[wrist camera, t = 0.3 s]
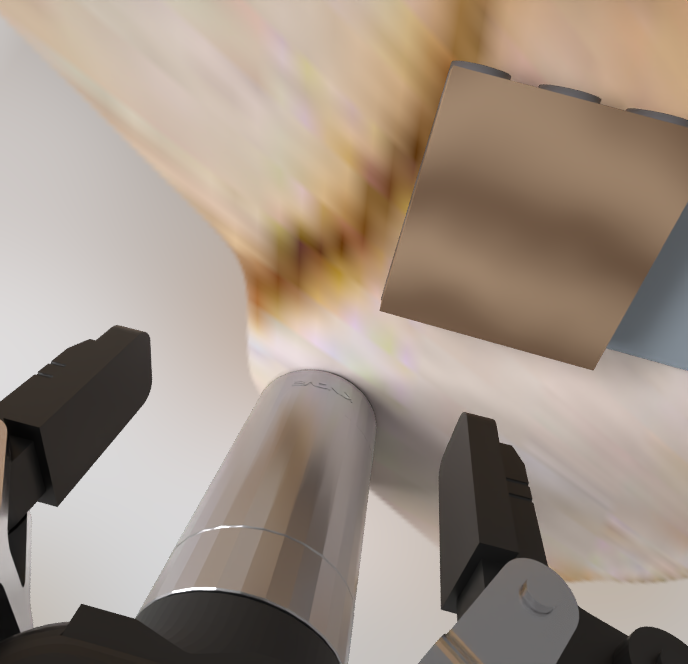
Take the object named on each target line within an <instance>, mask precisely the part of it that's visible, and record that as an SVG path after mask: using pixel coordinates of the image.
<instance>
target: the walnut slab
mask: <svg viewBox="0 0 688 664" xmlns="http://www.w3.org/2000/svg"><path fill="white" fill-rule="evenodd" d="M510 78H511V75H509V74H507V73H505V72H503V71H500V70H497V69H494V68H491V67H488V66H484V65H480V64H475V63H470V62H465V61H452V62H451V66H450V69H449V72H448V76H447V79H446V82H445V86H444V89H443V92H442V96H441V99H440V103H439V106H438V109H437V113H436V116H435V119H434V123H433V126H432V129H431V133H430V136H429V139H428V143H427V146H426V150H425V153H424V156H423V160H422V163H421V166H420V170H419V173H418V176H417V180H416V183H415V186H414V190H413V193H412V196H411V200H410V203H409V207H408V210H407V213H406V217H405V220H404V223H403V227H402V230H401V233H400V237H399V240H398V243H397V247H396V250H395V254H394V257H393V260H392V264H391V267H390V270H389V274H388V277H387V280H386V284H385V287H384V290H383V294H382V297H381V307H380V311H382V312H386V313H389V314H393V315H396V316H400V317H404V318H407V319H411V320H414V321H418V322H421V323H425V324H429V325H432V326H436V327H439V328H443V329H446V330H450V331H454V332H457V333H461V334H464V335H468V336H472V337H475V338H479V339H482V340H486V341H489V342H493V343H497V344H500V345H504V346H507V347H511V348H514V349H518V350H522V351H525V352H529V353H532V354H536V355H540V356H543V357H547V358H550V359H554V360H557V361H561V362H565V363H568V364H572V365H575V366H579V367H583V368H586V369H590V370H594V368H595V367H596V365H597V363H598V361H599V360H600V358H601V356H602V354H603V352H604V351H605V349H606V347H607V345H608V343H609V342H610V340H611V338H612V336H613V334H614V333H615V331H616V329H617V327H618V326H619V324H620V322H621V320H622V318H623V317H624V315H625V313H626V311H627V309H628V308H629V306H630V304H631V302H632V301H633V299H634V297H635V295H636V293H637V292H638V290H639V288H640V286H641V284H642V283H643V281H644V279H645V277H646V276H647V274H648V272H649V270H650V268H651V267H652V265H653V263H654V261H655V259H656V258H657V256H658V254H659V252H660V251H661V249H662V247H663V245H664V243H665V242H666V240H667V238H668V236H669V234H670V233H671V231H672V229H673V227H674V226H675V224H676V222H677V220H678V218H679V217H680V215H681V213H682V211H683V209H684V208H685V206H686V204H687V202H688V120H686V119H683V118H680V117H676V116H672V115H668V114H664V113H659V112H654V111H649V110H642V109H627V110H626V111H624V110H620V109H616V108H613V107H609V106H605V105H601V104H600V102H601V99H600V98H599V97H597V96H594V95H592V94H589V93H585V92H582V91H578V90H574V89H570V88H565V87H560V86H554V85H539V87H538V88H537V87H534V86H530V85H526V84H522V83H518V82H515V81H511V80H510Z"/></svg>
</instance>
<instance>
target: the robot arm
mask: <svg viewBox="0 0 688 664" xmlns="http://www.w3.org/2000/svg"><path fill="white" fill-rule="evenodd" d="M151 385H152V369H151V347H150V337H149V335H148V334H147V333H146V332H143V331H139V330H135V329H130V328H127V327H122V326H118V325H116V326H113V327H112V328H110V329H109V330H108V331H107V332H106V333H104V334H103V335H102V336H101V337H100V338H98V339H97V340H96V341H95V340H91V339H89V340H86V341H84V342H82V343H79V344H77V345H74V346H72V347H70V348H67V349H66V350H65V351H64V352H62V353H61V354H60V355H59V356H58V357H56V358H55V359H54V360H52V362H51V364H47V365H46V366H45V367H43V368H42V369H41V370H40V371H38V374H37V375H33V376H32V377H31V378H30V379H28V380H27V381H26V382H24V383H23V384H22V385H21V386H19V387H18V388H17V389H16V390H14V391H13V392H12V393H10V394H9V395H8V396H7V397H5V398H4V399H3V400H2V401H0V664H348V660H349V652H350V643H351V635H352V627H353V619H354V608H355V600H356V592H357V583H358V575H359V566H360V559H361V551H362V543H363V534H364V526H365V518H366V509H367V502H368V494H369V485H370V477H371V470H372V463H373V454H374V446H375V437H376V426H377V425H376V419H375V414H374V412H373V409H372V407H371V405H370V403H369V401H368V400H367V399H366V397H365V396H364V394H363V393H362V392H361V391H360V390H359V389H357V388H356V387H355V386H354V385H353V384H352V383H350V382H348V381H347V380H345V379H343V378H342V377H339V376H337V375H334V374H331V373H329V372H323V371H318V370H300V371H295V372H290V373H287V374H285V375H283V376H280V377H278V378H277V379H276V380H274V381H273V382H271V383H270V384H269V385H268V386H267V387H266V389H265V390H264V391H263V392H262V394H261V396H260V398H259V399H258V401H257V403H256V405H255V407H254V409H253V410H252V412H251V414H250V416H249V417H248V419H247V421H246V422H245V424H244V426H243V427H242V429H241V431H240V433H239V435H238V436H237V438H236V440H235V441H234V443H233V445H232V447H231V449H230V450H229V452H228V454H227V456H226V457H225V459H224V461H223V463H222V465H221V466H220V468H219V470H218V472H217V474H216V475H215V477H214V479H213V481H212V482H211V484H210V486H209V488H208V490H207V491H206V493H205V495H204V497H203V498H202V500H201V502H200V504H199V505H198V507H197V509H196V511H195V512H194V514H193V516H192V518H191V520H190V521H189V523H188V525H187V527H186V528H185V530H184V532H183V534H182V536H181V537H180V539H179V541H178V543H177V545H176V546H175V548H174V550H173V552H172V553H171V555H170V557H169V559H168V561H167V563H166V565H165V566H164V568H163V570H162V572H161V574H160V575H159V577H158V579H157V581H156V582H155V584H154V586H153V588H152V590H151V591H150V593H149V595H148V597H147V598H146V600H145V602H144V604H143V606H142V607H141V609H140V611H139V613H138V614H137V616H136V618H135V619H134V618H130V617H126V616H123V615H119V614H116V613H112V612H108V611H105V610H102V609H98V608H94V607H91V606H87V605H84V604H81V605H80V607H79V608H78V610H77V611H76V613H75V615H74V616H73V618H72V619H71V621H70V622H62V623H55V624H48V625H44V626H40V627H36V628H33V619H32V613H31V604H30V571H31V568H30V567H31V527H32V525H31V524H32V519H31V514H30V509H31V508H32V507H33V505H34V504H35V503H36V502H37V501H38V502H42V503H45V504H49V505H53V506H56V507H58V506H59V504H60V503H61V502H62V501H63V500H64V498H65V497H66V496H67V495H68V494H69V492H70V491H71V490H72V489H73V488H74V487H75V485H76V484H77V483H78V482H79V481H80V479H81V478H82V477H83V476H84V475H85V473H86V472H87V471H88V470H89V469H90V467H91V466H92V465H93V464H94V463H95V462H96V460H97V459H98V458H99V457H100V456H101V454H102V453H103V452H104V451H105V450H106V448H107V447H108V446H109V445H110V444H111V442H112V441H113V440H114V439H115V438H116V436H117V435H118V434H119V433H120V432H121V431H122V429H123V428H124V427H125V426H126V425H127V423H128V422H129V421H130V420H131V419H132V417H133V416H134V415H135V414H136V413H137V411H138V410H139V409H140V408H141V407H142V405H143V404H144V403H145V401H146V399H147V397H148V395H149V393H150V390H151ZM528 484H529V482H528V478H527V474H526V469H525V465H524V463H523V462H522V460H521V459H520V457H519V456H518V454H517V453H516V451H515V450H514V448H513V447H512V446H511V445H507V444H503V443H499V437H498V432H497V426H496V422H495V420H493V419H490V418H486V417H482V416H478V415H474V414H470V413H466V412H463V413H462V414H461V416H460V418H459V420H458V422H457V425H456V427H455V429H454V431H453V434H452V436H451V438H450V441H449V443H448V445H447V448H446V450H445V452H444V455H443V458H442V461H441V465H440V471H439V525H440V579H441V580H440V583H441V609H442V610H445V611H449V612H452V613H456V614H457V623H456V624H455V625H454V627H453V628H452V629H451V630H450V631H449V632H448V633H447V634H444V635H443V636H442V637H441V638H440V639H439V640H438V641H437V642H436V643H435V644H434V645H433V647H432V648H431V649H430V650H429V651H428V652H427V654H426V655H425V656H424V657H423V658H422V659H421V661H420V662H419V663H418V664H688V646H687V645H686V644H684V643H683V642H682V641H681V640H679V639H678V638H676V637H674V636H673V635H671V634H670V633H668V632H666V631H663V630H661V629H658V628H654V627H640V628H638V629H636V630H635V631H634V632H633V633H632V634H631V635H630V636H627V635H625V634H624V633H622V632H620V631H619V630H617V629H615V628H613V627H612V626H610V625H608V624H607V623H605V622H603V621H601V620H600V619H598V618H596V617H594V616H593V615H591V614H589V613H588V612H586V611H585V610H583V609H581V608H580V607H579V606H578V605H577V602H576V599H575V597H574V595H573V593H572V592H571V590H570V588H569V587H568V585H567V584H566V583H565V581H564V580H563V579H562V578H561V577H560V576H559V575H558V574H557V573H556V572H555V571H553V570H552V569H551V568H549V567H548V564H547V560H546V556H545V552H544V547H543V543H542V539H541V534H540V530H539V526H538V521H537V517H536V513H535V508H534V504H533V503H532V495H531V491H530V487H528Z"/></svg>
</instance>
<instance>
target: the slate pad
mask: <svg viewBox="0 0 688 664" xmlns="http://www.w3.org/2000/svg"><path fill="white" fill-rule="evenodd" d="M606 348H608V349H611V350H615V351H619V352H622V353H626V354H629V355H633V356H637V357H640V358H644V359H647V360H651V361H655V362H658V363H662V364H665V365H669V366H673V367H676V368H680V369H683V370H687V371H688V202H687V204H686V206H685V208H684V209H683V211H682V213H681V215H680V217H679V218H678V220H677V222H676V224H675V226H674V227H673V229H672V231H671V233H670V234H669V236H668V238H667V240H666V242H665V243H664V245H663V247H662V249H661V251H660V252H659V254H658V256H657V258H656V259H655V261H654V263H653V265H652V267H651V268H650V270H649V272H648V274H647V276H646V277H645V279H644V281H643V283H642V284H641V286H640V288H639V290H638V292H637V293H636V295H635V297H634V299H633V301H632V302H631V304H630V306H629V308H628V309H627V311H626V313H625V315H624V317H623V318H622V320H621V322H620V324H619V326H618V327H617V329H616V331H615V333H614V334H613V336H612V338H611V340H610V342H609V343H608V345H607V347H606Z"/></svg>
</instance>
